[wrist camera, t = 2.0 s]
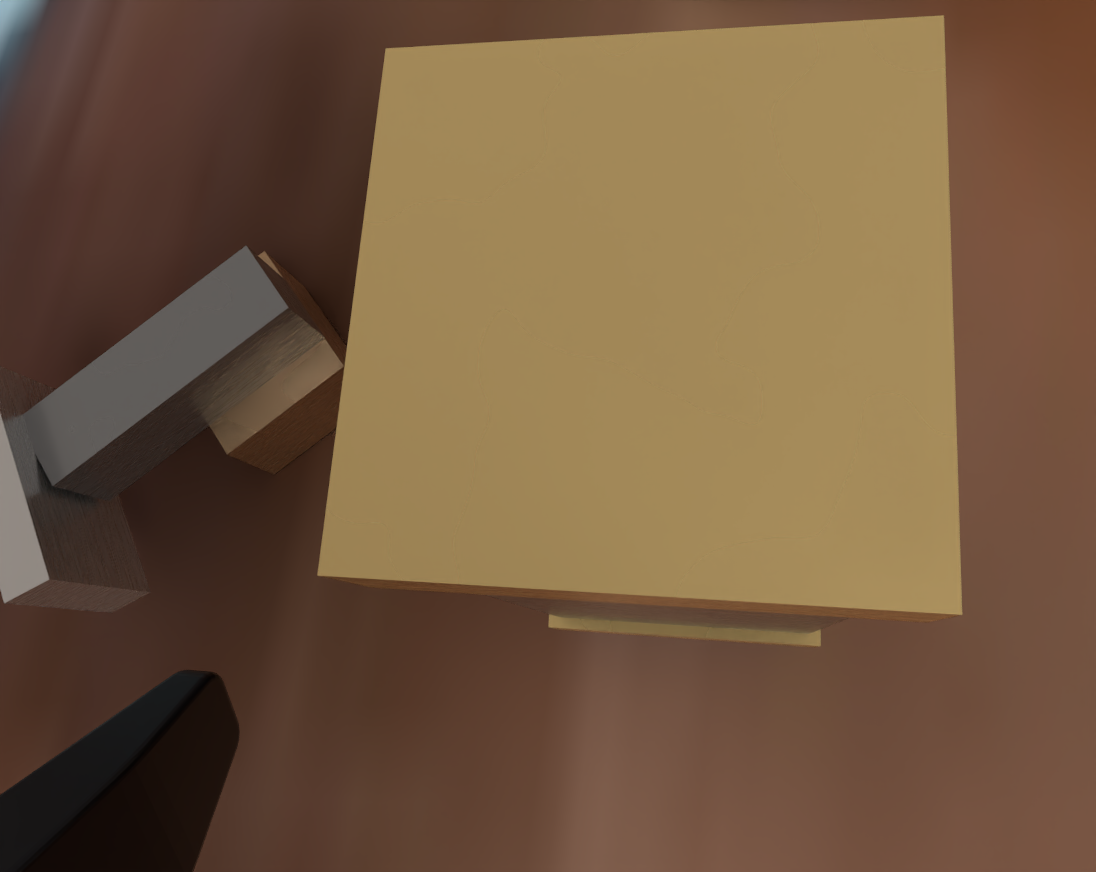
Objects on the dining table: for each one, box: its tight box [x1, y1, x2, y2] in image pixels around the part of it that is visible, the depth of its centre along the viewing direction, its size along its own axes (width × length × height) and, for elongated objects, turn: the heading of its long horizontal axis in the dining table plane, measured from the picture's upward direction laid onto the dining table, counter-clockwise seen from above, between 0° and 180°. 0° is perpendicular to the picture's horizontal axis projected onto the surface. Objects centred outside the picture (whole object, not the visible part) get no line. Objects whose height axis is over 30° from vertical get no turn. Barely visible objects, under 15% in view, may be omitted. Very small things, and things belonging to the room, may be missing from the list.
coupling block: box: [317, 16, 962, 647], centre depth 14 cm, size 5×5×13 cm
